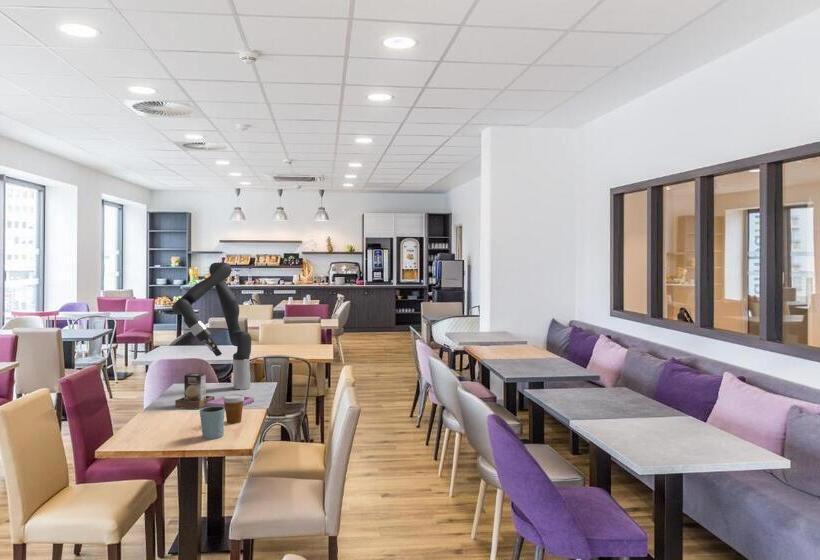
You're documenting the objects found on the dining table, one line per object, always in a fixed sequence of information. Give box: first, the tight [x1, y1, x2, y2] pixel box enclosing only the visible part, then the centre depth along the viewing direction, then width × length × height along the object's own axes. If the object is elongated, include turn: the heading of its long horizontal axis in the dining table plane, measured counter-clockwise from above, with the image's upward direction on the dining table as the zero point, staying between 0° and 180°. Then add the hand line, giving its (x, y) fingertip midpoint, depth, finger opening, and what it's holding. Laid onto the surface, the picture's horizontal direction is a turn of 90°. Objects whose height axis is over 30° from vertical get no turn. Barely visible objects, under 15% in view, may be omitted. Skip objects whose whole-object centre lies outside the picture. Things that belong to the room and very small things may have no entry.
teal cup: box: [199, 406, 226, 440], centre depth 254 cm, size 10×10×12 cm
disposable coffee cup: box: [223, 393, 245, 425], centre depth 276 cm, size 10×10×12 cm
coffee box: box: [183, 372, 207, 402], centre depth 307 cm, size 9×6×16 cm
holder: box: [174, 395, 215, 410], centre depth 307 cm, size 13×14×4 cm
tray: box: [206, 394, 255, 408], centre depth 308 cm, size 17×17×2 cm
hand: (219, 355), depth 318 cm, fingers open, 8 cm apart
